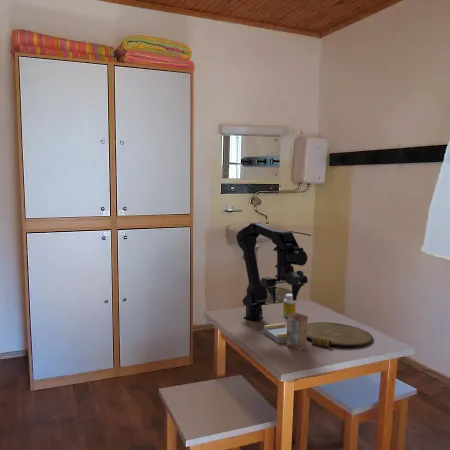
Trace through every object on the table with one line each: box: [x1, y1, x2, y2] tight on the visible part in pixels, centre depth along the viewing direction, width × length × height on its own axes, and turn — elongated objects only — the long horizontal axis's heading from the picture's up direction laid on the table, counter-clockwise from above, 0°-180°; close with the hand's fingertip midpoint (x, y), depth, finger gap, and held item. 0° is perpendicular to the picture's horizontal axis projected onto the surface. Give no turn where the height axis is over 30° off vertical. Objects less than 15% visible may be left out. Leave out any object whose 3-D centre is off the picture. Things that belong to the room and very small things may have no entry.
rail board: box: [262, 322, 287, 344], centre depth 169 cm, size 12×9×3 cm
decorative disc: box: [307, 321, 374, 348], centre depth 172 cm, size 29×3×30 cm
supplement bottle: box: [282, 293, 297, 318], centre depth 195 cm, size 5×5×10 cm
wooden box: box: [286, 311, 309, 352], centre depth 158 cm, size 6×4×12 cm
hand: (284, 301), depth 173 cm, fingers open, 9 cm apart
